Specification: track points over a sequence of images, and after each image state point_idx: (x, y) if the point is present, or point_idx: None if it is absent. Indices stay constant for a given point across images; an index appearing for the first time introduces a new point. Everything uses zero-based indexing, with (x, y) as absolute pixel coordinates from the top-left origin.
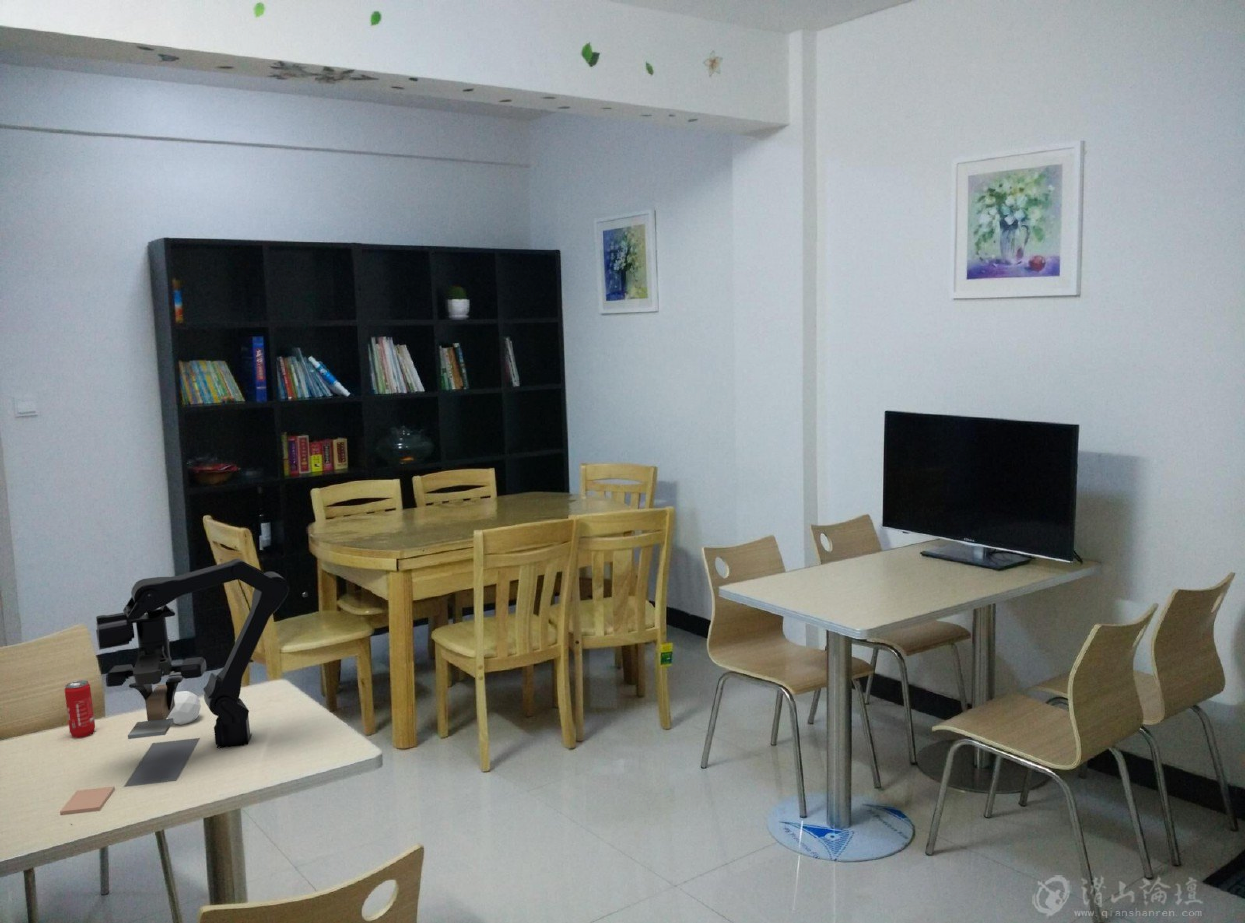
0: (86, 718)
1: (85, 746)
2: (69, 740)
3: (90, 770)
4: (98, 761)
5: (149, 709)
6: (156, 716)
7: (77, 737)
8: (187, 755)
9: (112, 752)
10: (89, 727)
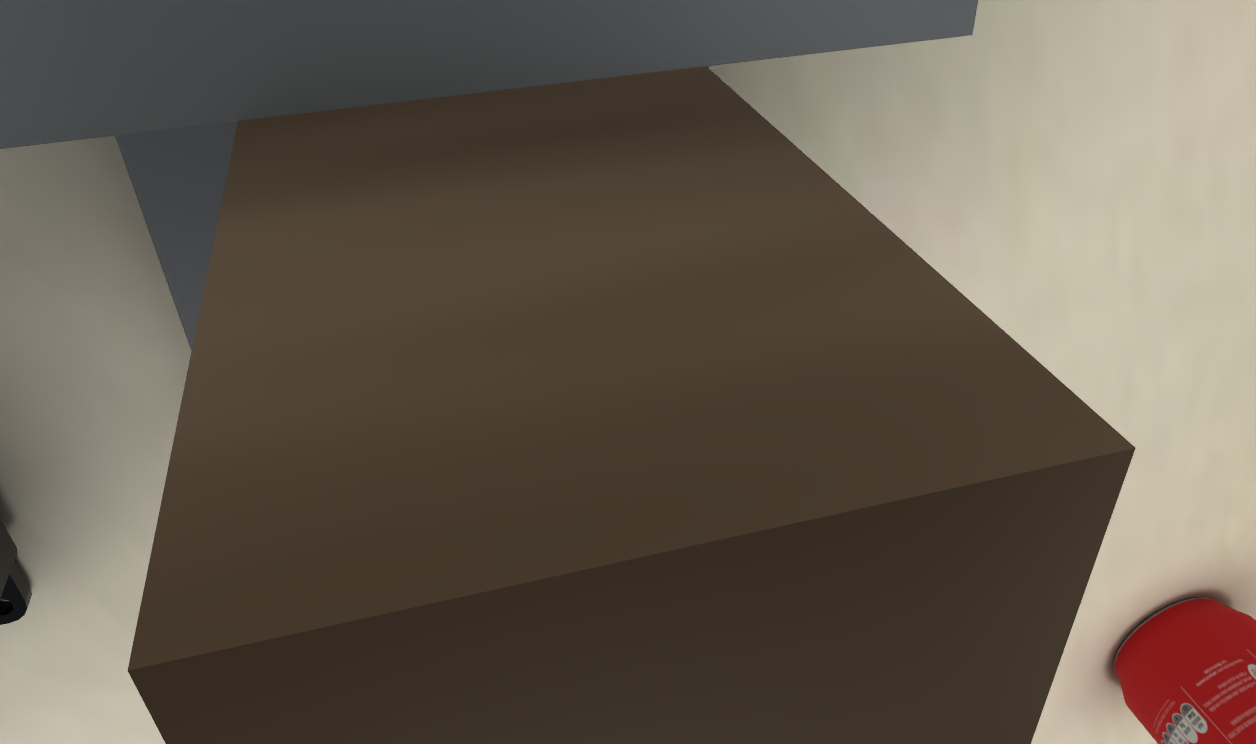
0: (1237, 720)
1: (1163, 492)
2: (1242, 569)
3: (1144, 37)
4: (1081, 232)
5: (749, 236)
6: (445, 134)
7: (1202, 599)
8: (182, 203)
9: None
10: (1172, 669)
